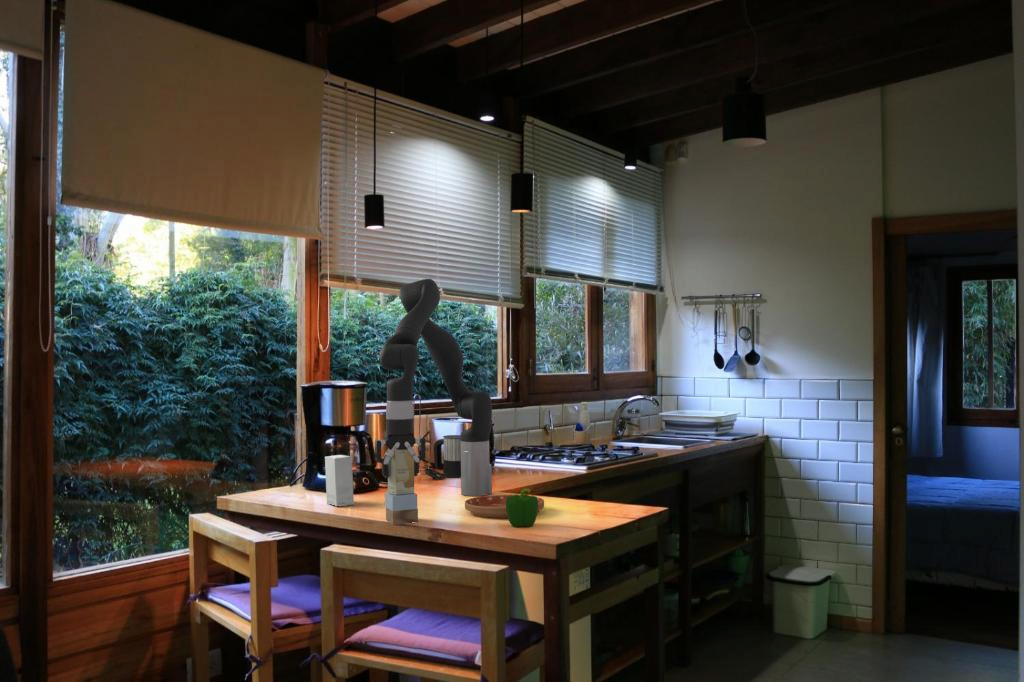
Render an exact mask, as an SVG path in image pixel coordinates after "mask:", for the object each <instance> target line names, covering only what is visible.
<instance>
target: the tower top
mask: <svg viewBox="0 0 1024 682" xmlns="http://www.w3.org/2000/svg"><path fill="white" fill-rule="evenodd" d="M384 508H385V509H386V508H388V509H390V510H391V511H400V510H411V509H418V493H415V492H414V493H409V494H401V495H394V494H390V493H388V491H386V492H384Z"/></svg>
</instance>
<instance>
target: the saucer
mask: <svg viewBox="0 0 1024 682" xmlns="http://www.w3.org/2000/svg"><path fill="white" fill-rule="evenodd" d="M513 495H514V494H495V495H494V494H493V495H492V494H489V495H482V496H474V497H472V498H468V499H466V500H465V501H464V509H465V510H467V511H468V512H470V513H471V514H472V515H474V516H477V517H481V518H489V519H490V518H491V519H508V515H507V510H506V500H507V497H511V496H513ZM518 495H519V496H520V494H518ZM536 497H537V499H538V511H537V513H538V512H539V511H540V510H542V509H544V508H545V500H544V498H541V497H538V496H536Z"/></svg>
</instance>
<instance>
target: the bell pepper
mask: <svg viewBox="0 0 1024 682" xmlns="http://www.w3.org/2000/svg"><path fill="white" fill-rule="evenodd" d="M531 491H532V489H529V488H524V489H522V490H521V491H520V494H512V495H513V496H511V497H507V500H506V510H507V515H508V518H507V519H508V523H509V524H510V526H512V527H517V528H522V527H524V526H527V527H533V526H534V524H535V523H536V520H537V519H536V518H537V515H538V512H539V511H538V499H537V497H538V496H534V495H530V493H531ZM527 493H528V494H527ZM519 495H520V496H519ZM537 511H538V512H537ZM521 526H522V527H521Z"/></svg>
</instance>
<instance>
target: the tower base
mask: <svg viewBox="0 0 1024 682" xmlns="http://www.w3.org/2000/svg"><path fill="white" fill-rule="evenodd" d="M386 520H387V521H386ZM385 521H386V522H388V523H389V524H390V525H392V526H398V525H399V526H401V525H406V524H405V523H411V524H413V523H412V522H418V523H419V508H417V509H411V510H400V511H391V510H390V509H388V508H386V507H385Z"/></svg>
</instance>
